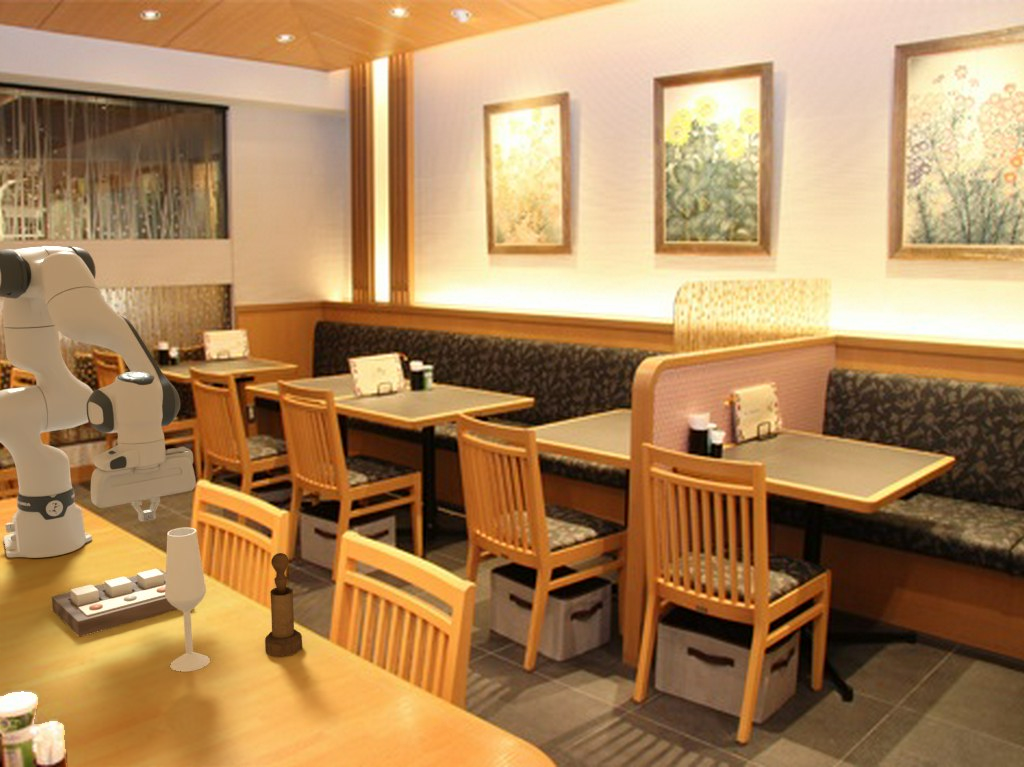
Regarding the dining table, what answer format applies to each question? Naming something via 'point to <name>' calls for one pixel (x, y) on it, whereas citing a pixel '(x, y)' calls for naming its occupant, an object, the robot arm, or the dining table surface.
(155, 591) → the pattern card
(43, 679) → the dining table surface
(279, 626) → the mortar and pestle
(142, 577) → the button
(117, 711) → the dining table surface
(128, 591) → the button middle
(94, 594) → the button
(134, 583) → the button board
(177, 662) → the champagne flute
